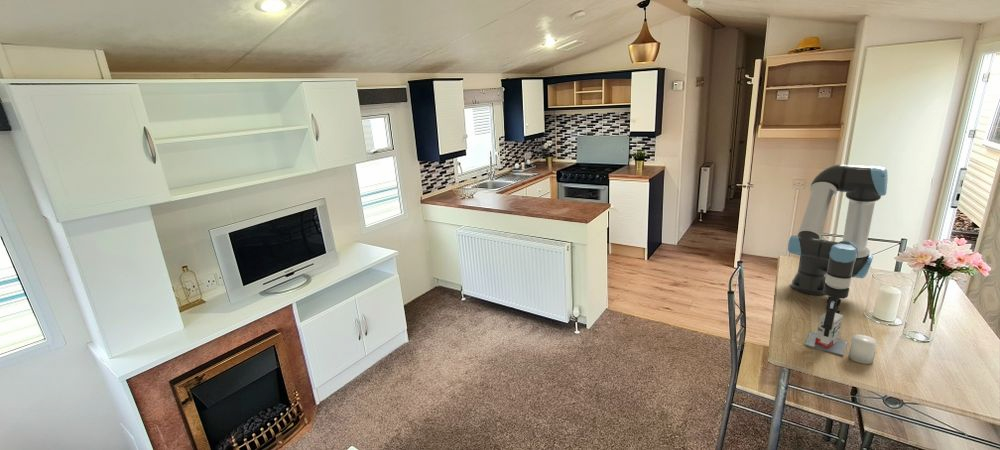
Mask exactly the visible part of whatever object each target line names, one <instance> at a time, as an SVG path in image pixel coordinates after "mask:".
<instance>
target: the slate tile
mask: <svg viewBox="0 0 1000 450" xmlns="http://www.w3.org/2000/svg"><path fill="white" fill-rule="evenodd" d="M816 335H817V332H815V331H810V332H809V334H808V336H807V338H806V340H805V343H804V346H805V347H808V348H812V349H815V350H819V351H822V352H825V353H829V354H833V355H836V356H840V357H844V355H845V351H846V348H847V343H848V341H847V340H845V339H840V338H838V341H837V342H836V343H835V344H833V345H832V346H831V347H830V348H826V347H823V346H821V345H818V344H815V340H816Z"/></svg>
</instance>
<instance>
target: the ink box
mask: <svg viewBox="0 0 1000 450" xmlns="http://www.w3.org/2000/svg"><path fill="white" fill-rule="evenodd" d="M825 316H826V312H824V313H823V314H822V315H820V317H819V320H818V321H819V322H818V325H817V332H816V333H817V335H816V340H815V344H818V345H821V346H823V347H826V348H830V347H831V346H832V345H833V344H835V343H836V342H837V341H838V339H839V335H840V331H841V326H842V322H843V316H844V314H841V313H839V314H838V313H835V316H834V321H833V325H832V333H831V338H830V343H829V344H826V343H822V342H820V341H821V336H822V330H823V327H821V325H824V321H825Z"/></svg>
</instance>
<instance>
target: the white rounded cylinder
mask: <svg viewBox="0 0 1000 450" xmlns="http://www.w3.org/2000/svg"><path fill="white" fill-rule="evenodd" d="M877 344H878V341H877V339H876V338H873V337H872V336H869V335H864V334H859V333H858V334H854V335H852V336H851V343H850V348H849V352H848V357H849V359H851V360H852V361H853V362H856V363H859V364H863V365H871V364H873V363H874V361H875V360H874V358H875V355H876V349H877Z"/></svg>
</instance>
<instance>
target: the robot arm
mask: <svg viewBox="0 0 1000 450" xmlns="http://www.w3.org/2000/svg"><path fill="white" fill-rule="evenodd" d="M887 190H888V170H887V168H886V167H884V166H875V165H859V164H841V163H840V164H834V165H832V166H829V167H827V168H825V169H824V170H822V171H820V172H819V173H818V174H817V175H816V176H815V177H814V178H813V180H812V182H811V184H810V187H809V191H810V196H809V199H808V203H807V205H806V208H805V212H804V215H803V218H802V220H801V223H800V224H801V225H800V227H799V230H798V233H797V235H791V236H790V237H789V239H788V244H787V251H788V253H790V254H793V255H795V256H800V257H799V263H798V268H797V272H796V274H795V275H794V277H793V279H792V281H791V284H790V285H791V288H793V290H795V291H797V292H800V293H801V294H806V295H809V296H810V295H812V296H823V295H824V296H827V299H826V307H825V310H826V311H825V313H826V316H825V321H824V325H821V327H823V330H822V336H821V341H820V342H822V343H826V344H829V343H830V338H831V333H832V325H833V321H834V316H835V313H838V314H841V311H840V310H839V307H840V306H841V302H842V299H847V298H848V297H849V291H850V287H851V284H852V279H853V278H856V279H864V278H865V277H867V276H868V275H867V274H868V273H869V271H870V267H871V265H872V262H873V259H874V255H873V254H871V253H870V249H869V248H867V246H868V239H869V237H870V236H869V234H870V229H871V224H872V219H873V214H874V209H875V204H876V202H877V201H880V199H881V198H882V197H883V196H886V194H887ZM838 192H840V193H845V197H846V198H847V199H848V200H849V201H848V206H847V211H846V212H847V213H846V219H845V225H844V231H843V236H842V240H841V241H834V240H826V239H821V237H822V233H823V229H824V226H825V223H826V220H827V218H828V217H827V216H828V213H829V209H830V206H831V203H832V199H833V197H834V196H836V195H837V193H838Z"/></svg>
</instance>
